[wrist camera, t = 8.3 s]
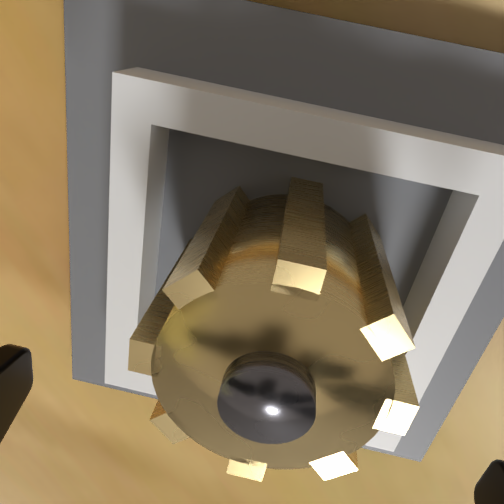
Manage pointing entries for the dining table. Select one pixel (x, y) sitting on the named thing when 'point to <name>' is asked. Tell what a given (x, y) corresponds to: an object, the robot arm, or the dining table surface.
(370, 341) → the gear
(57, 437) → the dining table surface
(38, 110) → the dining table surface
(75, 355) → the carrier plate
